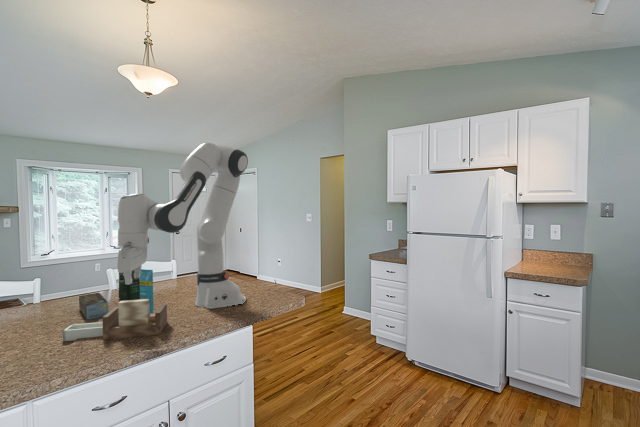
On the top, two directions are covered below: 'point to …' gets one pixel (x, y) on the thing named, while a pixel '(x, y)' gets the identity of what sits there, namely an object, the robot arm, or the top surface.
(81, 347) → the top surface
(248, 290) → the top surface
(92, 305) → the beverage carton
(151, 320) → the offcut short
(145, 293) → the tube
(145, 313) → the sheet
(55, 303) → the top surface
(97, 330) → the tray
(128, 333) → the rack
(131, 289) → the coffee jar
